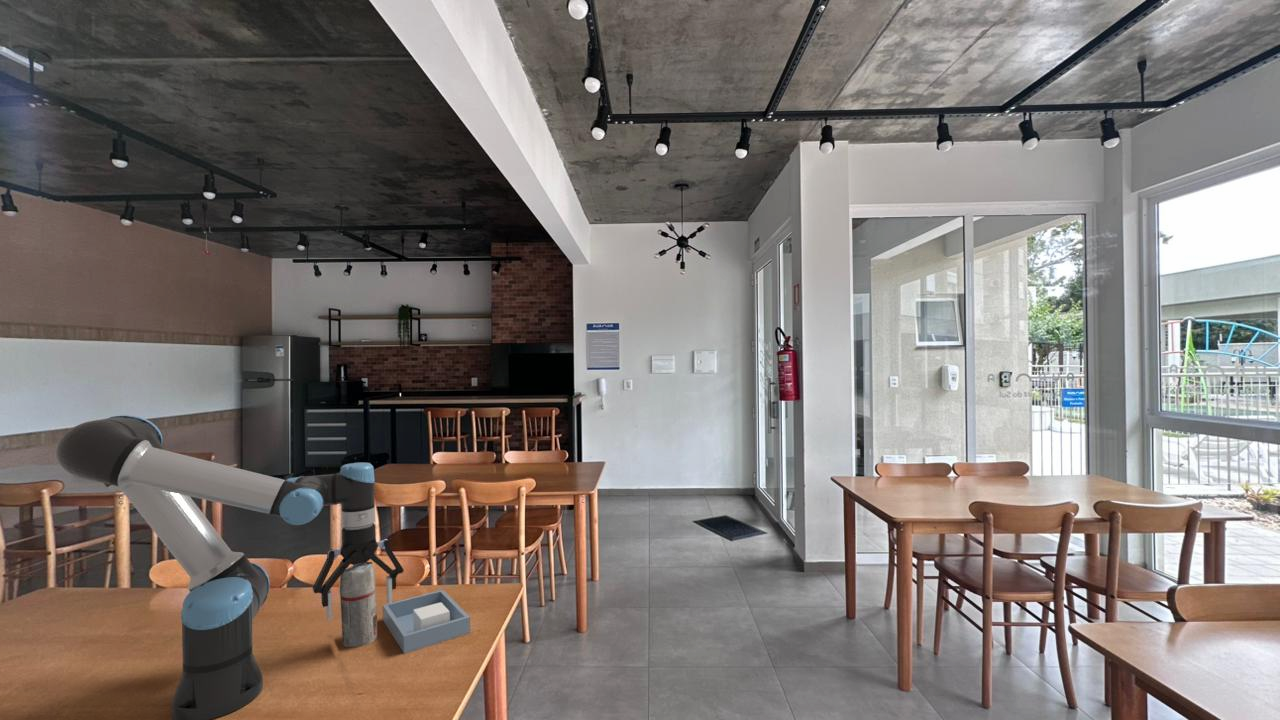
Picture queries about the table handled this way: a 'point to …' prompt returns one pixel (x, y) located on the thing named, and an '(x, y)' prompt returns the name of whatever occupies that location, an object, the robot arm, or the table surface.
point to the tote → (402, 630)
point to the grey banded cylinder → (358, 605)
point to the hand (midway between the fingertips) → (360, 610)
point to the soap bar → (430, 616)
